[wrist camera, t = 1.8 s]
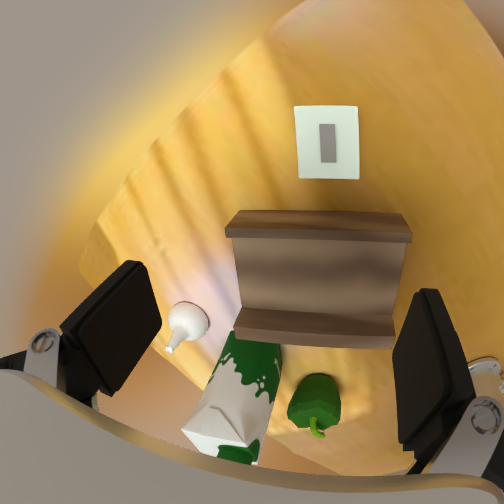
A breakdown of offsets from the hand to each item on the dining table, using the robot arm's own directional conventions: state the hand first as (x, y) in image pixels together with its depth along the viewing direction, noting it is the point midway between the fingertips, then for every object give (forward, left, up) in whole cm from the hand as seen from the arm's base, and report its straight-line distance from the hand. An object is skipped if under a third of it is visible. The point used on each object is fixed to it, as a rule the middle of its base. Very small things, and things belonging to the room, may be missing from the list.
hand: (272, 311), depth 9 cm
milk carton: (+8, +26, -22) cm, 35 cm away
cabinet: (-2, -4, -22) cm, 22 cm away
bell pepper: (-2, +34, -22) cm, 41 cm away
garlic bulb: (+18, +21, -22) cm, 36 cm away
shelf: (-1, +11, -22) cm, 24 cm away
